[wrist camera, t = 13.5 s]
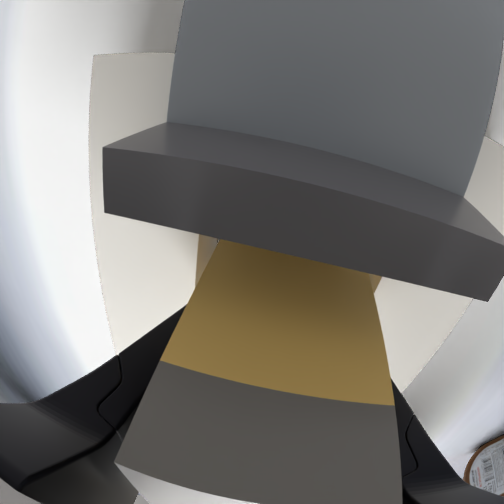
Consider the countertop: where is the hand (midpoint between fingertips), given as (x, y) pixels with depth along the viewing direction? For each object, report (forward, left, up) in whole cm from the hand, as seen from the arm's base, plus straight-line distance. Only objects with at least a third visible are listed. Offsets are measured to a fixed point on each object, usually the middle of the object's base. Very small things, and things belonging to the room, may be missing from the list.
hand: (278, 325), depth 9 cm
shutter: (+8, 0, -1) cm, 8 cm away
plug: (0, 0, -3) cm, 3 cm away
